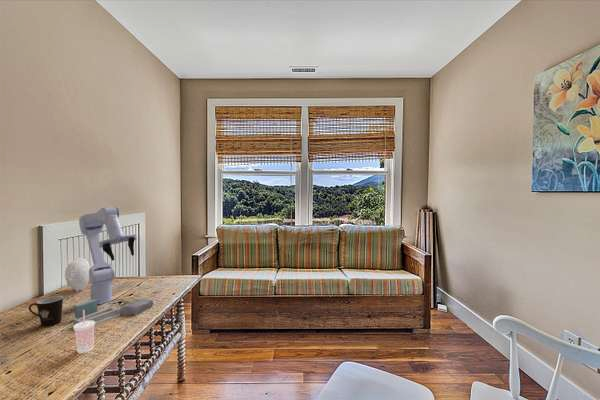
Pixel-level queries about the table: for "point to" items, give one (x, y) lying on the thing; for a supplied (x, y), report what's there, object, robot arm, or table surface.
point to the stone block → (136, 307)
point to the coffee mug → (49, 310)
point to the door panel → (85, 308)
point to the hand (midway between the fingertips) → (123, 257)
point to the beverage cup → (84, 335)
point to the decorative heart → (77, 274)
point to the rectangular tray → (100, 315)
